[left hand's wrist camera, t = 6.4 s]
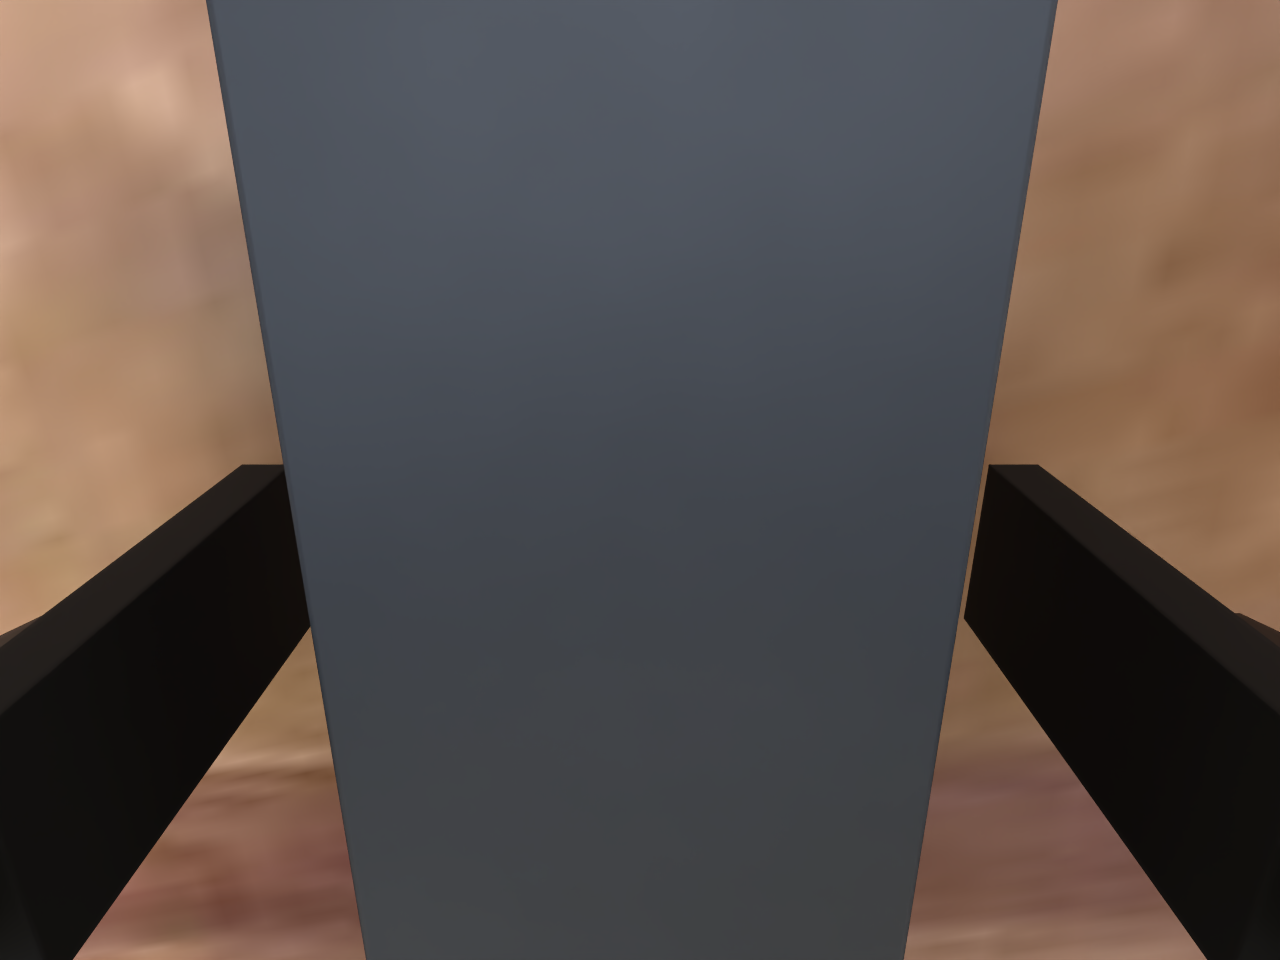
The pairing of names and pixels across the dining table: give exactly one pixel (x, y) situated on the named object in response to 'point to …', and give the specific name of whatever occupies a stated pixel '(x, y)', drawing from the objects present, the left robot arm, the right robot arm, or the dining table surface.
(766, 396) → the beam
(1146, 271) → the dining table surface
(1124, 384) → the dining table surface
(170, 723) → the left robot arm
